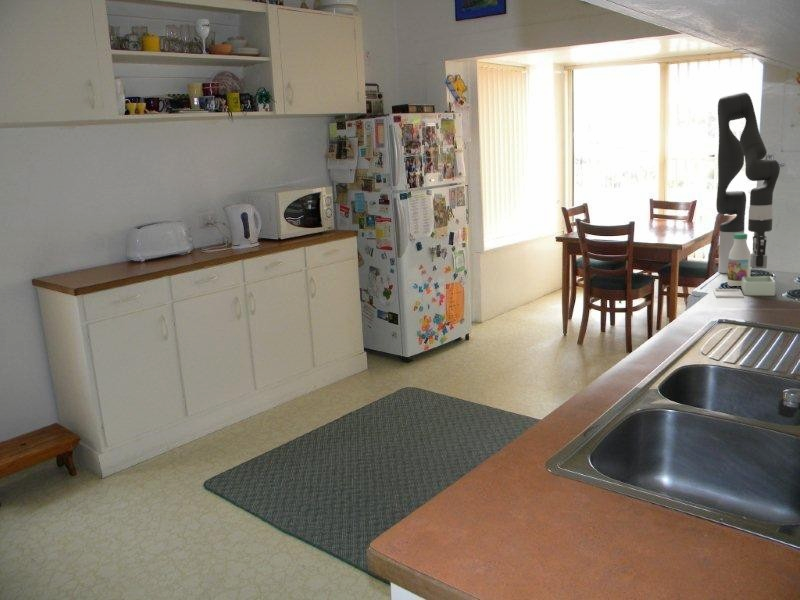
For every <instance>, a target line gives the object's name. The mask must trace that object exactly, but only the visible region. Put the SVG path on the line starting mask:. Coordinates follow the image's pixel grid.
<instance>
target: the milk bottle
mask: <svg viewBox="0 0 800 600" xmlns="http://www.w3.org/2000/svg"><path fill="white" fill-rule="evenodd" d="M747 240H748V234H747V233H745V232H744V233H737V234H734V244H733V247H732V249H731V251H730V253H729V259H728V273H727V286H728V285H729V287H732V286H742V277H751V272H752V271H751V269H752V268H751V266H750V263H751V254H752V253H751V250H750V249H749V247H748V242H747Z"/></svg>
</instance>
